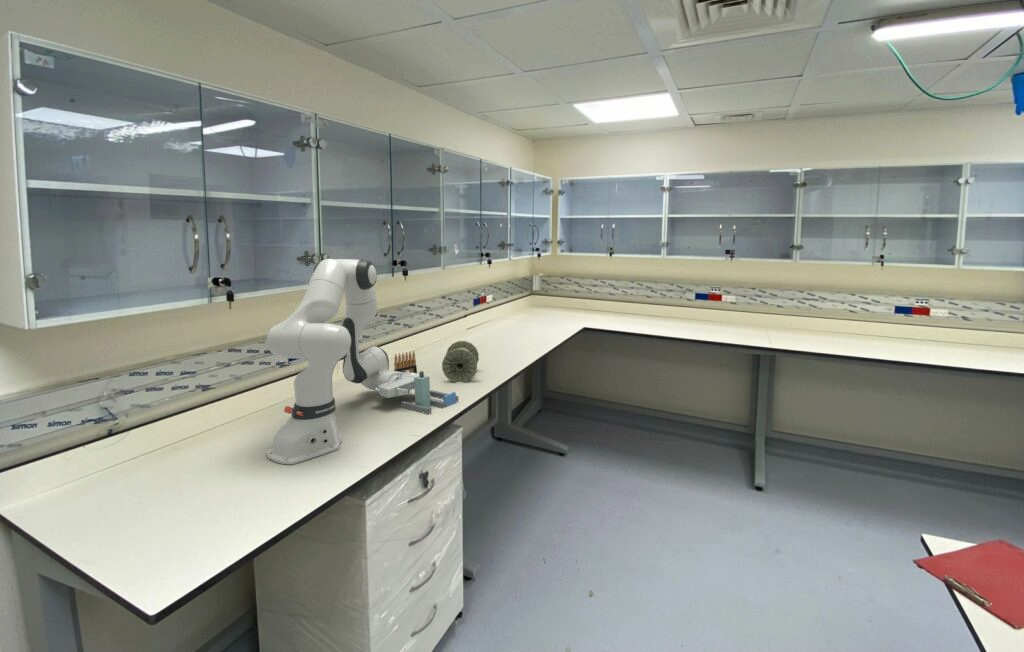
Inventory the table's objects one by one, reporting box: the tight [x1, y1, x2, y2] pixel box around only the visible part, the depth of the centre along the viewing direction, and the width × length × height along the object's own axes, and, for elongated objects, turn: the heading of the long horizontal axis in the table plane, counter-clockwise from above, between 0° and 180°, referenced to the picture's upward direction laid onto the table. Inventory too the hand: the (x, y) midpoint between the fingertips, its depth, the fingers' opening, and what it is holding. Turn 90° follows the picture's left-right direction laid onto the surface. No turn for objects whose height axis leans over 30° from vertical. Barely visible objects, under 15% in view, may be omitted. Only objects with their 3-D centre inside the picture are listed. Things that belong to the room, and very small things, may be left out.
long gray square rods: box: [400, 389, 459, 415], centre depth 198 cm, size 17×14×4 cm
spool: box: [441, 340, 480, 383], centre depth 232 cm, size 16×15×15 cm
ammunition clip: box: [393, 350, 418, 374], centre depth 232 cm, size 11×2×12 cm, turn 129°
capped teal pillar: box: [414, 370, 431, 408], centre depth 194 cm, size 4×4×14 cm
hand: (417, 388), depth 195 cm, fingers open, 8 cm apart
